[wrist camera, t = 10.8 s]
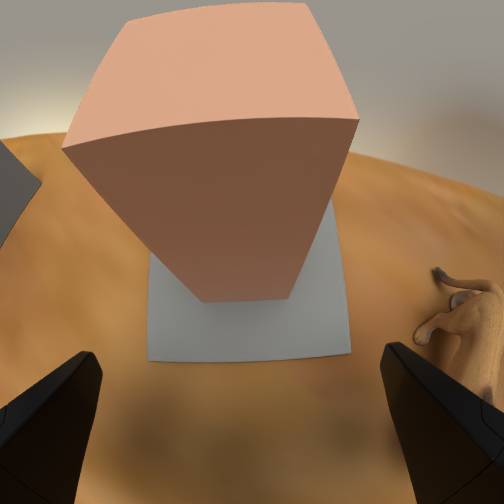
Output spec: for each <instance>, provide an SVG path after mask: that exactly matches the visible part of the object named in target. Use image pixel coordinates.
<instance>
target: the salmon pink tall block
mask: <svg viewBox="0 0 504 504" xmlns="http://www.w3.org/2000/svg"><path fill="white" fill-rule="evenodd" d="M359 120H360V119H359V116H358V113H357V111H356V108H355V106H354V103H353V101H352V98H351V96H350V93H349V91H348V88H347V86H346V84H345V81H344V79H343V77H342V74H341V72H340V70H339V68H338V65H337V63H336V61H335V59H334V57H333V55H332V53H331V50H330V48H329V46H328V44H327V42H326V41H325V38H324V36H323V34H322V32H321V30H320V29H319V27H318V25H317V23H316V21H315V19H314V17H313V16H312V14H311V12H310V10H309V8H308V7H307V5H306V3H285V2H284V3H283V2H264V3H262V2H260V3H237V4H224V5H213V6H205V7H197V8H190V9H184V10H178V11H173V12H167V13H162V14H157V15H153V16H149V17H144V18H140V19H136V20H132V21H129V22H126V24H125V25H124V27H123V28H122V30H121V31H120V33H119V35H118V36H117V37H116V39H115V41H114V42H113V44H112V45H111V47H110V49H109V50H108V52H107V54H106V56H105V57H104V59H103V61H102V62H101V64H100V66H99V68H98V69H97V71H96V73H95V75H94V77H93V79H92V81H91V82H90V85H89V87H88V88H87V90H86V93H85V94H84V96H83V99H82V101H81V103H80V105H79V107H78V109H77V112H76V114H75V116H74V118H73V121H72V123H71V126H70V127H69V130H68V132H67V135H66V137H65V140H64V142H63V145H62V148H61V149H62V150H63V151H64V153H65V154H66V155H67V156H68V157H69V159H70V160H71V161H72V162H73V164H74V165H75V166H76V167H77V169H78V170H79V171H80V172H81V173H82V175H83V176H84V177H85V178H86V179H87V180H88V182H89V183H90V184H91V185H92V186H93V188H94V189H95V190H96V191H97V192H98V193H99V195H100V196H101V197H102V198H103V199H104V200H105V201H106V203H107V204H108V205H109V206H110V207H111V208H112V209H113V210H114V212H115V213H116V214H117V215H118V216H119V217H120V218H121V219H122V220H123V222H124V223H125V224H126V225H127V226H128V227H129V228H130V229H131V230H132V231H133V232H134V234H135V235H136V236H137V237H138V238H139V239H140V240H141V241H142V242H143V243H144V244H145V245H146V246H147V247H148V248H149V249H150V251H151V252H152V253H153V254H154V255H155V256H156V257H157V258H158V259H159V260H160V261H161V262H162V263H163V264H164V265H165V266H166V267H167V268H168V269H169V270H170V271H171V272H172V273H173V274H174V275H175V276H176V277H177V278H178V279H179V280H180V281H181V282H182V283H183V284H184V285H185V286H186V287H187V288H188V289H189V290H190V291H191V292H192V293H193V294H194V295H195V296H196V297H197V298H198V299H199V300H200V301H201V302H202V303H216V302H242V301H263V300H281V299H288V298H289V296H290V294H291V292H292V289H293V287H294V285H295V283H296V280H297V278H298V276H299V273H300V271H301V269H302V266H303V264H304V262H305V259H306V257H307V255H308V252H309V250H310V248H311V245H312V243H313V240H314V238H315V236H316V233H317V231H318V228H319V226H320V223H321V221H322V218H323V216H324V213H325V211H326V208H327V206H328V203H329V201H330V198H331V196H332V193H333V191H334V188H335V185H336V183H337V180H338V178H339V175H340V172H341V170H342V167H343V164H344V162H345V159H346V156H347V154H348V151H349V148H350V145H351V143H352V140H353V137H354V134H355V131H356V129H357V126H358V123H359Z"/></svg>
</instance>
